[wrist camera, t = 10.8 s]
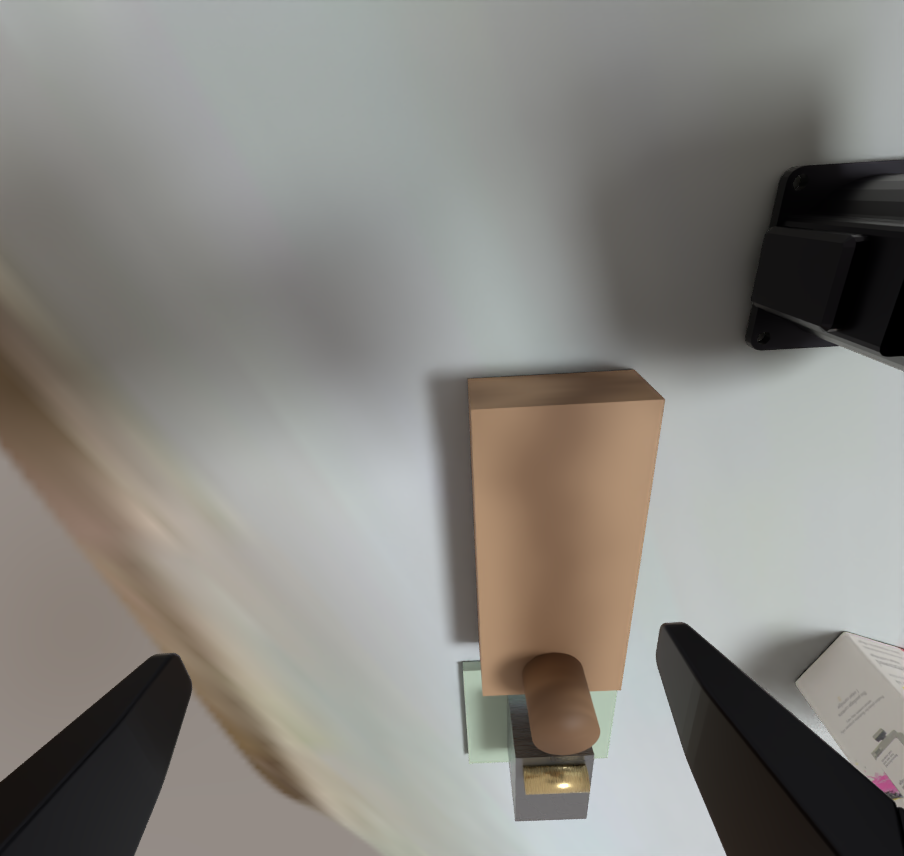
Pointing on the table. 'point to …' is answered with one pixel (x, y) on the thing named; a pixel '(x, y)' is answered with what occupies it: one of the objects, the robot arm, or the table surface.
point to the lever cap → (544, 773)
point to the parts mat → (491, 719)
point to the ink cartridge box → (862, 706)
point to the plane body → (559, 538)
